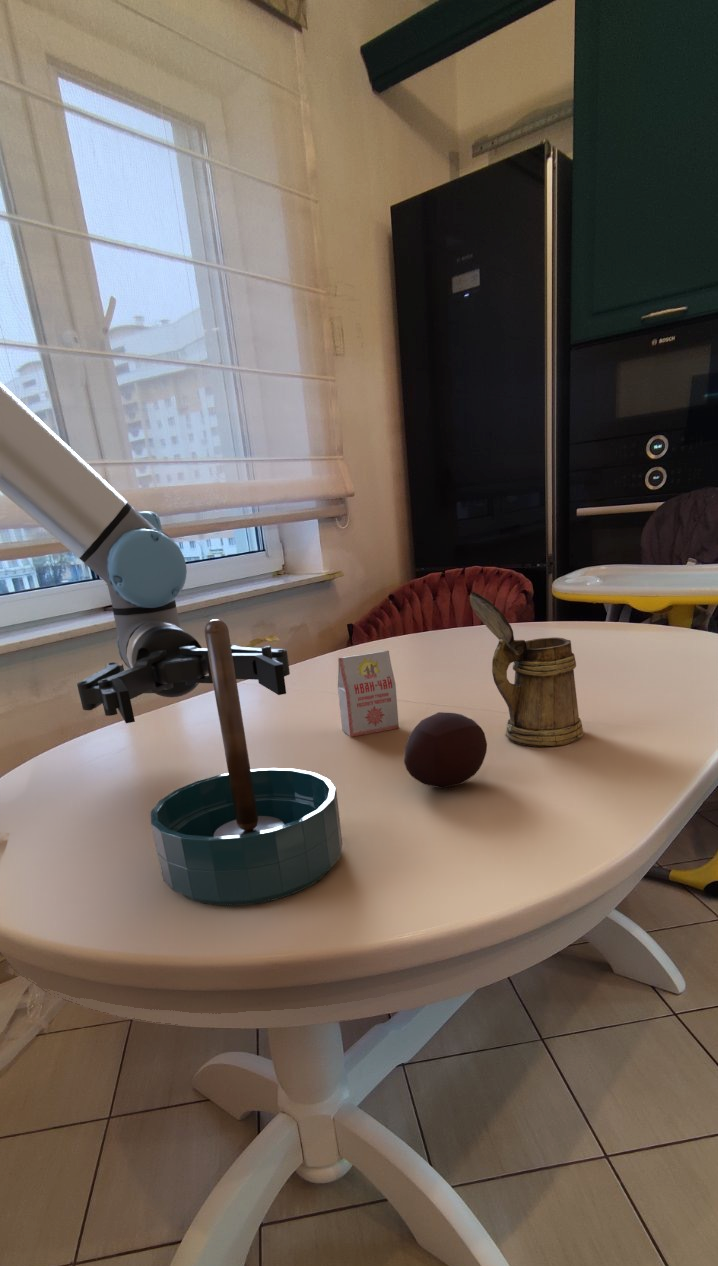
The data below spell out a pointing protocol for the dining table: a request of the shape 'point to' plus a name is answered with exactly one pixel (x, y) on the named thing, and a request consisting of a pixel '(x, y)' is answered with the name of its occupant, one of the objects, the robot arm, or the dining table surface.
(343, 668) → the tea bag
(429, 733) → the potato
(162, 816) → the bowl
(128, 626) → the robot arm
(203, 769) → the dining table surface
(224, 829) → the brown stick with disc
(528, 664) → the wooden mug
